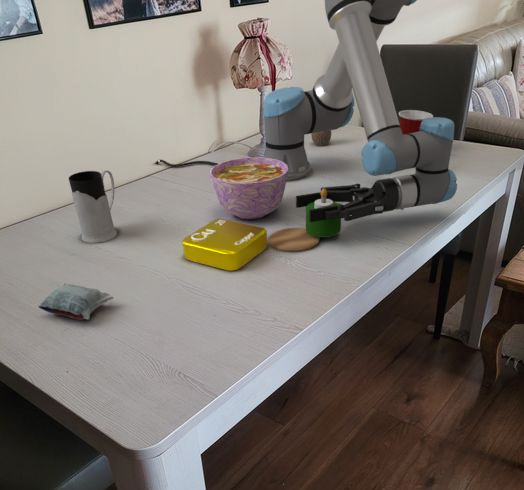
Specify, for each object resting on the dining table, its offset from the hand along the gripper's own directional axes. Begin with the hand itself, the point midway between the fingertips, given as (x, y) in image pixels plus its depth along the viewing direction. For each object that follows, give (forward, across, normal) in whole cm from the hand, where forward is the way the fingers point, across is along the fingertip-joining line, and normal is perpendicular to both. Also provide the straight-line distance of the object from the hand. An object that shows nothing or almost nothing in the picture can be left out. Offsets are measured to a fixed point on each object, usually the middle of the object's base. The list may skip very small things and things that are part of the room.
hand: (303, 208), depth 124 cm
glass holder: (+45, +24, -8) cm, 51 cm away
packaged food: (+52, -14, -8) cm, 55 cm away
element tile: (+19, 0, -8) cm, 20 cm away
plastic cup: (-56, +49, -8) cm, 75 cm away
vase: (-32, +70, -8) cm, 78 cm away
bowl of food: (+7, +20, -8) cm, 23 cm away
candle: (-5, 0, -6) cm, 8 cm away
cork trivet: (+2, 0, -8) cm, 8 cm away
